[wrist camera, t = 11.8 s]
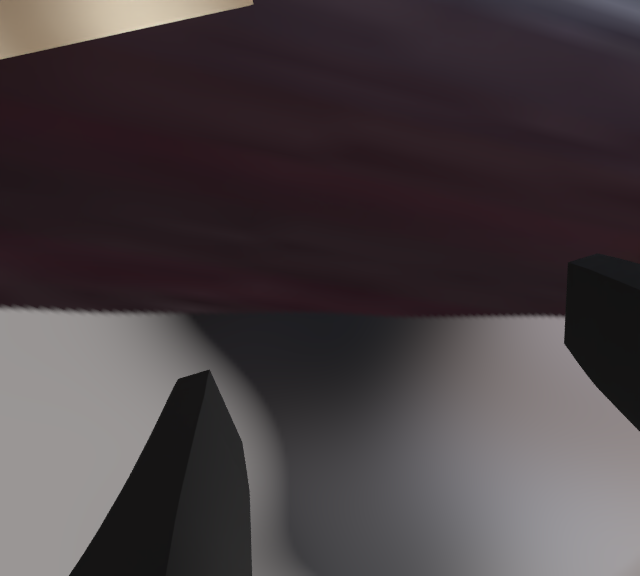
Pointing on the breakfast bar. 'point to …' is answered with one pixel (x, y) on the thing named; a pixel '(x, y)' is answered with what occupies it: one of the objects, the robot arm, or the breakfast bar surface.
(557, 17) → the breakfast bar surface
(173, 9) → the birch box
